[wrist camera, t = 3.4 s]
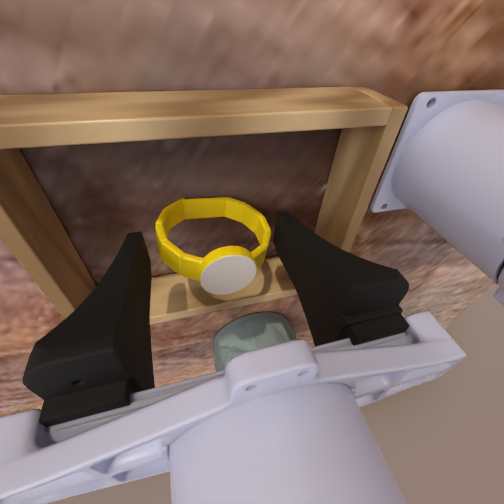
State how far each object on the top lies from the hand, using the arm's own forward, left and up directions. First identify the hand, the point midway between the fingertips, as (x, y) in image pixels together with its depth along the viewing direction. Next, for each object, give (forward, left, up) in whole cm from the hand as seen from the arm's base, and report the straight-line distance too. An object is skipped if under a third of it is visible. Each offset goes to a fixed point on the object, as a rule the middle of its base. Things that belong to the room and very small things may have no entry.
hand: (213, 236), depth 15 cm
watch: (0, 0, -3) cm, 3 cm away
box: (0, 0, -3) cm, 3 cm away
